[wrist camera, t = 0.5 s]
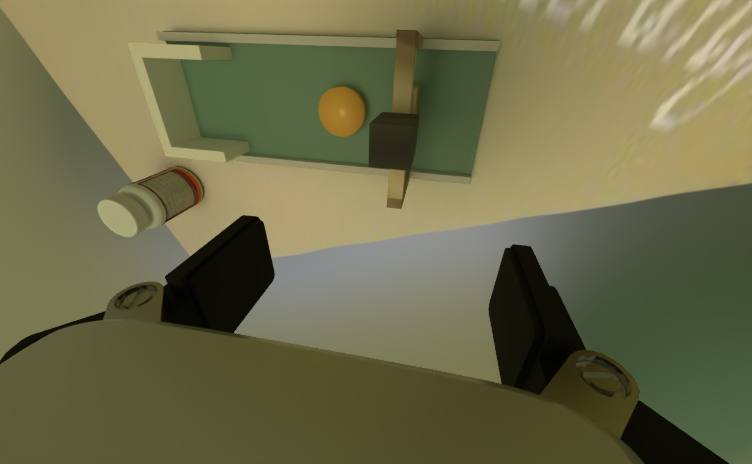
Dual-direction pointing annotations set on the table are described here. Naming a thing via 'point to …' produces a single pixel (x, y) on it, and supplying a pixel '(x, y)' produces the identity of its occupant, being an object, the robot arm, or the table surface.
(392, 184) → the striker
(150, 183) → the pill bottle
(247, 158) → the pitch
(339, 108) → the yellow domed round part
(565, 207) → the table surface
